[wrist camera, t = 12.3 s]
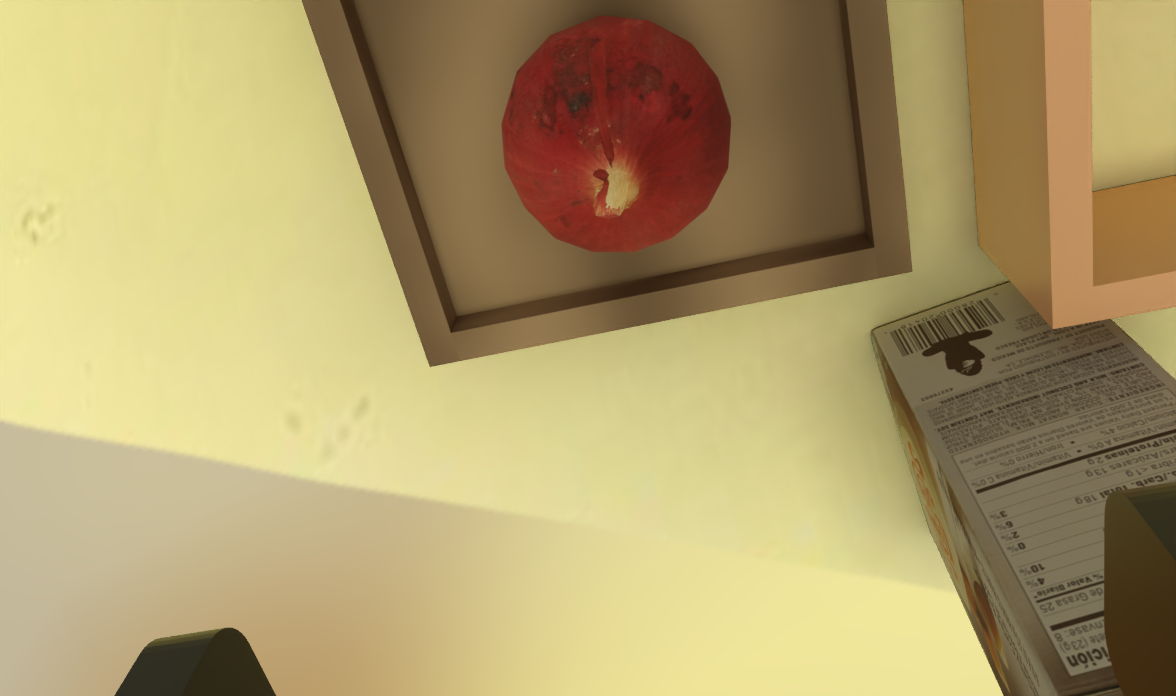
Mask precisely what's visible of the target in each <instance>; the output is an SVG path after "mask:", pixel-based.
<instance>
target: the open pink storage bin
mask: <svg viewBox="0 0 1176 696" xmlns="http://www.w3.org/2000/svg"><path fill="white" fill-rule="evenodd" d="M963 6H964V22H965V37H966V53H967V69H968V85H969V100H970V116H971V132H972V147H973V163H974V179H975V195H976V210H977V226H978V242H979V246H980V247H981V248H982V250H983V251H984V252H985V253H986V254H987V255H988V256H989V258H990V259H991V260H992V261H993V262H994V263H995V264H996V265H997V267H998V268H999V269H1000V270H1001V271H1002V272H1003V273H1004V275H1005V276H1006V277H1007V278H1008V279H1009V280H1010V281H1011V282H1012V284H1013V285H1014V286H1015V287H1016V288H1017V289H1018V290H1019V291H1020V293H1021V294H1022V295H1023V296H1024V297H1025V298H1026V299H1027V301H1028V302H1029V303H1030V304H1031V305H1032V306H1033V307H1034V308H1035V310H1036V311H1037V312H1038V313H1039V314H1040V315H1041V316H1042V318H1043V319H1044V320H1045V321H1046V322H1047V323H1048V324H1049V325H1050V327H1051V328H1052V329H1057V328H1063V327H1068V326H1073V325H1079V324H1084V323H1090V322H1095V321H1100V320H1106V319H1111V318H1116V317H1122V316H1127V315H1133V314H1138V313H1143V312H1149V311H1154V310H1159V309H1165V308H1170V307H1176V175H1174V176H1169V177H1164V178H1159V179H1154V180H1149V181H1144V182H1139V183H1135V184H1130V185H1125V186H1120V187H1115V188H1110V189H1105V190H1100V191H1095V192H1092V98H1091V0H963Z"/></svg>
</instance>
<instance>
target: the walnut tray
mask: <svg viewBox="0 0 1176 696" xmlns="http://www.w3.org/2000/svg"><path fill="white" fill-rule="evenodd" d="M302 3H303V6H304V9H305V11H306V14H307V17H308V20H309V23H310V26H311V29H312V31H313V34H314V37H315V40H316V43H317V46H318V49H319V51H320V54H321V57H322V60H323V63H324V66H325V69H326V71H327V74H328V77H329V80H330V83H331V86H332V89H333V91H334V94H335V97H336V100H337V103H338V106H339V109H340V111H341V114H342V117H343V120H344V123H345V126H346V129H347V131H348V134H349V137H350V140H351V143H352V146H353V149H354V151H355V154H356V157H357V160H358V163H359V166H360V169H361V171H362V174H363V177H364V180H365V183H366V186H367V189H368V191H369V194H370V197H371V200H372V203H373V206H374V209H375V211H376V214H377V217H378V220H379V223H380V226H381V229H382V231H383V234H384V237H385V240H386V243H387V246H388V249H389V251H390V254H391V257H392V260H393V263H394V266H395V269H396V271H397V274H398V277H399V280H400V283H401V286H402V289H403V291H404V294H405V297H406V300H407V303H408V306H409V309H410V311H411V314H412V317H413V320H414V323H415V326H416V329H417V331H418V334H419V337H420V340H421V343H422V346H423V349H424V351H425V354H426V357H427V360H428V363H429V366H430V367H432V366H437V365H442V364H447V363H452V362H457V361H462V360H467V359H472V358H477V357H482V356H488V355H493V354H498V353H503V352H508V351H513V350H518V349H523V348H528V347H533V346H538V345H543V344H548V343H553V342H558V341H563V340H569V339H574V338H579V337H584V336H589V335H594V334H599V333H604V332H609V331H614V330H619V329H624V328H629V327H634V326H639V325H644V324H650V323H655V322H660V321H665V320H670V319H675V318H680V317H685V316H690V315H695V314H700V313H705V312H710V311H715V310H720V309H725V308H731V307H736V306H741V305H746V304H751V303H756V302H761V301H766V300H771V299H776V298H781V297H786V296H791V295H796V294H801V293H806V292H812V291H817V290H822V289H827V288H832V287H837V286H842V285H847V284H852V283H857V282H862V281H867V280H872V279H877V278H882V277H887V276H893V275H898V274H903V273H908V272H912V262H911V252H910V242H909V231H908V221H907V211H906V200H905V190H904V180H903V169H902V159H901V149H900V139H899V128H898V118H897V108H896V97H895V87H894V77H893V66H892V56H891V46H890V35H889V25H888V15H887V4H886V0H302ZM601 15H603V16H613V17H622V18H632V19H641V20H649V21H651V22H653V23H655V24H657V25H659V26H661V27H662V28H664V29H666V30H668V31H670V32H672V33H674V34H675V35H677V36H679V37H681V38H683V39H685V40H687V41H688V42H690V43H692V44H693V46H694V47H695V48H696V50H697V51H698V52H699V53H700V55H701V56H702V57H703V59H704V60H705V61H706V63H707V64H708V65H709V66H710V68H711V69H712V70H713V72H714V73H715V74H716V76H717V77H718V79H719V82H720V85H721V88H722V91H723V94H724V97H725V101H726V104H727V107H728V110H729V113H730V116H731V134H730V149H729V165H728V170H727V172H726V174H725V176H724V178H723V180H722V182H721V183H720V185H719V187H718V189H717V191H716V193H715V195H714V197H713V199H712V200H711V202H710V204H709V206H708V208H707V209H706V210H705V211H704V212H703V213H702V214H700V215H699V216H698V217H697V218H696V219H694V220H693V221H692V222H691V223H690V224H688V225H687V226H686V227H685V228H684V229H683V230H681V231H680V232H679V233H678V234H677V235H675V236H674V237H673V238H671V239H669V240H666V241H663V242H660V243H657V244H655V245H652V246H649V247H646V248H644V249H641V250H639V251H636V252H591V251H588V250H586V249H583V248H580V247H577V246H574V245H572V244H569V243H566V242H563V241H560V240H558V239H556V238H554V237H553V236H552V235H551V234H550V233H549V232H548V231H547V230H546V229H545V228H544V227H543V226H542V225H541V223H540V222H539V221H538V220H537V219H536V218H535V217H534V216H533V215H532V214H530V213H529V212H528V211H527V209H526V208H525V207H524V205H523V203H522V201H521V199H520V197H519V195H518V193H517V191H516V189H515V187H514V185H513V183H512V181H511V179H510V177H509V175H508V173H507V171H506V169H505V165H504V153H503V140H502V127H501V124H502V120H503V116H504V113H505V109H506V106H507V103H508V99H509V96H510V93H511V89H512V86H513V82H514V79H515V76H516V72H517V71H518V70H519V69H520V67H521V66H522V65H523V64H524V63H525V62H526V61H527V60H528V59H529V58H530V57H531V56H532V54H533V53H534V52H535V51H536V50H537V49H538V48H539V47H540V46H541V45H542V44H543V43H544V41H545V40H546V39H547V38H548V37H549V36H550V35H552V34H554V33H557V32H559V31H562V30H565V29H567V28H570V27H572V26H575V25H577V24H580V23H583V22H585V21H588V20H590V19H593V18H595V17H598V16H601Z"/></svg>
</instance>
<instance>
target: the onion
mask: <svg viewBox="0 0 1176 696" xmlns="http://www.w3.org/2000/svg"><path fill="white" fill-rule="evenodd" d="M501 127H502V140H503V153H504V165H505V169H506V171H507V173H508V175H509V177H510V179H511V181H512V183H513V185H514V187H515V189H516V191H517V193H518V195H519V197H520V199H521V201H522V203H523V205H524V207H525V208H526V209H527V211H528V212H529V213H530V214H532V215H533V216H534V217H535V218H536V219H537V220H538V221H539V222H540V223H541V225H542V226H543V227H544V228H545V229H546V230H547V231H548V232H549V233H550V234H551V235H552V236H553V237H554V238H556V239H558V240H560V241H563V242H566V243H569V244H572V245H574V246H577V247H580V248H583V249H586V250H588V251H591V252H636V251H639V250H641V249H644V248H646V247H649V246H652V245H655V244H657V243H660V242H663V241H666V240H669V239H671V238H673V237H674V236H675V235H677V234H678V233H679V232H680V231H681V230H683V229H684V228H685V227H686V226H687V225H688V224H690V223H691V222H692V221H693V220H694V219H696V218H697V217H698V216H699V215H700V214H702V213H703V212H704V211H705V210H706V209H707V208H708V206H709V204H710V202H711V200H712V199H713V197H714V195H715V193H716V191H717V189H718V187H719V185H720V183H721V182H722V180H723V178H724V176H725V174H726V172H727V170H728V165H729V149H730V134H731V116H730V113H729V110H728V107H727V104H726V101H725V97H724V94H723V91H722V88H721V85H720V82H719V79H718V77H717V76H716V74H715V73H714V72H713V70H712V69H711V68H710V66H709V65H708V64H707V63H706V61H705V60H704V59H703V57H702V56H701V55H700V53H699V52H698V51H697V50H696V48H695V47H694V46H693V44H692V43H690V42H688V41H687V40H685V39H683V38H681V37H679V36H677V35H675V34H674V33H672V32H670V31H668V30H666V29H664V28H662V27H661V26H659V25H657V24H655V23H653V22H651V21H649V20H641V19H632V18H622V17H613V16H603V15H601V16H598V17H595V18H593V19H590V20H588V21H585V22H583V23H580V24H577V25H575V26H572V27H570V28H567V29H565V30H562V31H559V32H557V33H554V34H552V35H550V36H549V37H548V38H547V39H546V40H545V41H544V43H543V44H542V45H541V46H540V47H539V48H538V49H537V50H536V51H535V52H534V53H533V54H532V56H531V57H530V58H529V59H528V60H527V61H526V62H525V63H524V64H523V65H522V66H521V67H520V69H519V70H518V71H517V72H516V76H515V79H514V82H513V86H512V89H511V93H510V96H509V99H508V103H507V106H506V109H505V113H504V116H503V120H502V124H501Z"/></svg>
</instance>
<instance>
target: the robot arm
mask: <svg viewBox="0 0 1176 696" xmlns="http://www.w3.org/2000/svg"><path fill="white" fill-rule="evenodd" d="M1104 630H1105V638H1106V644H1107V649H1108V653H1109V657H1110V661H1111V664H1112V667H1113V670H1114V673H1115V676H1116V679H1117V681H1118V684H1119V686H1120V689H1121V691H1122V693H1123V695H1124V696H1176V482H1170V483H1164V484H1158V485H1151V486H1145V487H1138V488H1132V489H1126V490H1119V491H1114V492H1112V493H1110V494H1109V496H1108V498H1107V500H1106V504H1105V514H1104ZM115 696H276V695H275V693H274V691H273V689H272V687H271V685H270V683H269V681H268V679H267V677H266V675H265V673H264V672H263V669H262V668H261V666H260V664H259V662H258V660H257V658H256V656H255V654H254V652H253V650H252V648H251V646H250V644H249V643H248V641H247V639H246V638H245V637H244V636H243V634H242V633H241V632H239V631H238V630H236V629H234V628H222V629H216V630H209V631H203V632H197V633H190V634H184V635H178V636H171V637H165V638H160V639H156V640H154V641H152V642H150V643H149V644H148V645H147V646H146V647H145V648H144V649H143V650H142V652H141V653H140V655H139V656H138V658H137V660H136V661H135V663H134V665H133V666H132V668H131V669H130V671H129V673H128V674H127V676H126V678H125V679H124V681H123V683H122V684H121V686H120V688H119V689H118V691H117V692H116V694H115Z"/></svg>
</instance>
